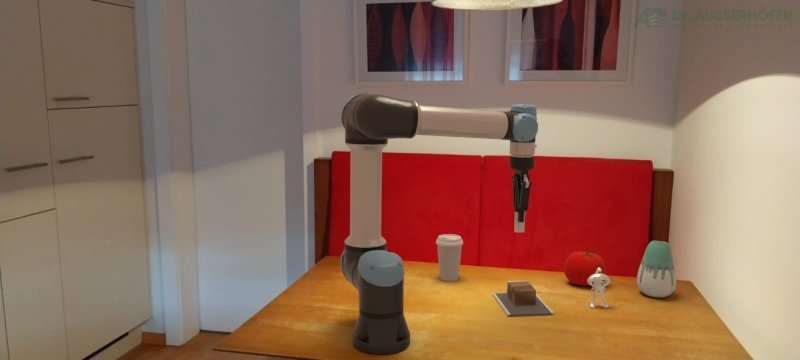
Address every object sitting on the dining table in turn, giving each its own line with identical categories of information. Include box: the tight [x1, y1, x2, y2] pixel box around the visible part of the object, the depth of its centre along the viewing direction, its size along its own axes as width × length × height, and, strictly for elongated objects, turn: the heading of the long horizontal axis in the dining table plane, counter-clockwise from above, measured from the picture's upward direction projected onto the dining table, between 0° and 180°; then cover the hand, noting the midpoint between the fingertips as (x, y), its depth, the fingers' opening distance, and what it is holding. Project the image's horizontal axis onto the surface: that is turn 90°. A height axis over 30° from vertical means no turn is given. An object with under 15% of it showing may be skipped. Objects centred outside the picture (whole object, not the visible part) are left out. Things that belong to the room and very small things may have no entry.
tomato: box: [563, 251, 606, 287], centre depth 200 cm, size 12×14×11 cm
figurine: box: [587, 268, 611, 309], centre depth 180 cm, size 7×4×12 cm, turn 94°
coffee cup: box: [435, 233, 464, 282], centre depth 206 cm, size 10×10×15 cm
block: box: [506, 280, 537, 305], centre depth 184 cm, size 5×7×9 cm
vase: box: [636, 240, 677, 298], centre depth 190 cm, size 12×12×18 cm
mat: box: [492, 292, 555, 318], centre depth 182 cm, size 18×14×1 cm
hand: (519, 231), depth 182 cm, fingers closed
